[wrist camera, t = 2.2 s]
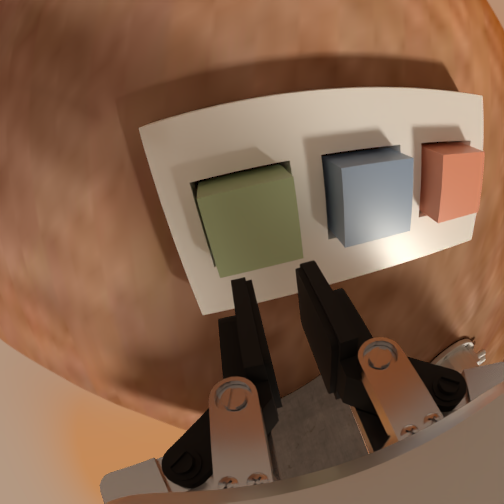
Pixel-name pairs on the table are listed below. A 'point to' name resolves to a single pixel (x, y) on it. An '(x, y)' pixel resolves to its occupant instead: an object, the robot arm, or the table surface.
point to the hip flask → (315, 431)
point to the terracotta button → (450, 180)
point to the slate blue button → (368, 194)
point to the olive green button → (251, 219)
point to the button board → (305, 174)
